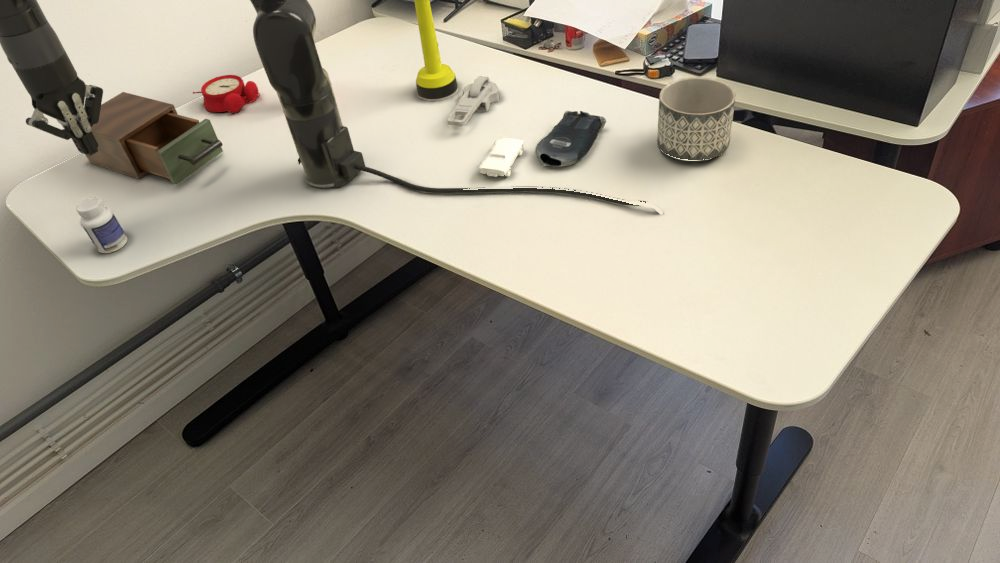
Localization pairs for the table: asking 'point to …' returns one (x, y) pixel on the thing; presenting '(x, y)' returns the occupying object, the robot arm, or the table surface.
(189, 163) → the drawer
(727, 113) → the planter
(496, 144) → the toy car
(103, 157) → the cabinet
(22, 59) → the robot arm
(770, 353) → the table surface
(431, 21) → the flashlight
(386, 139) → the table surface
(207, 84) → the alarm clock
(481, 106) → the zipper pull
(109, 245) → the pill bottle
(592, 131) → the electronic device
